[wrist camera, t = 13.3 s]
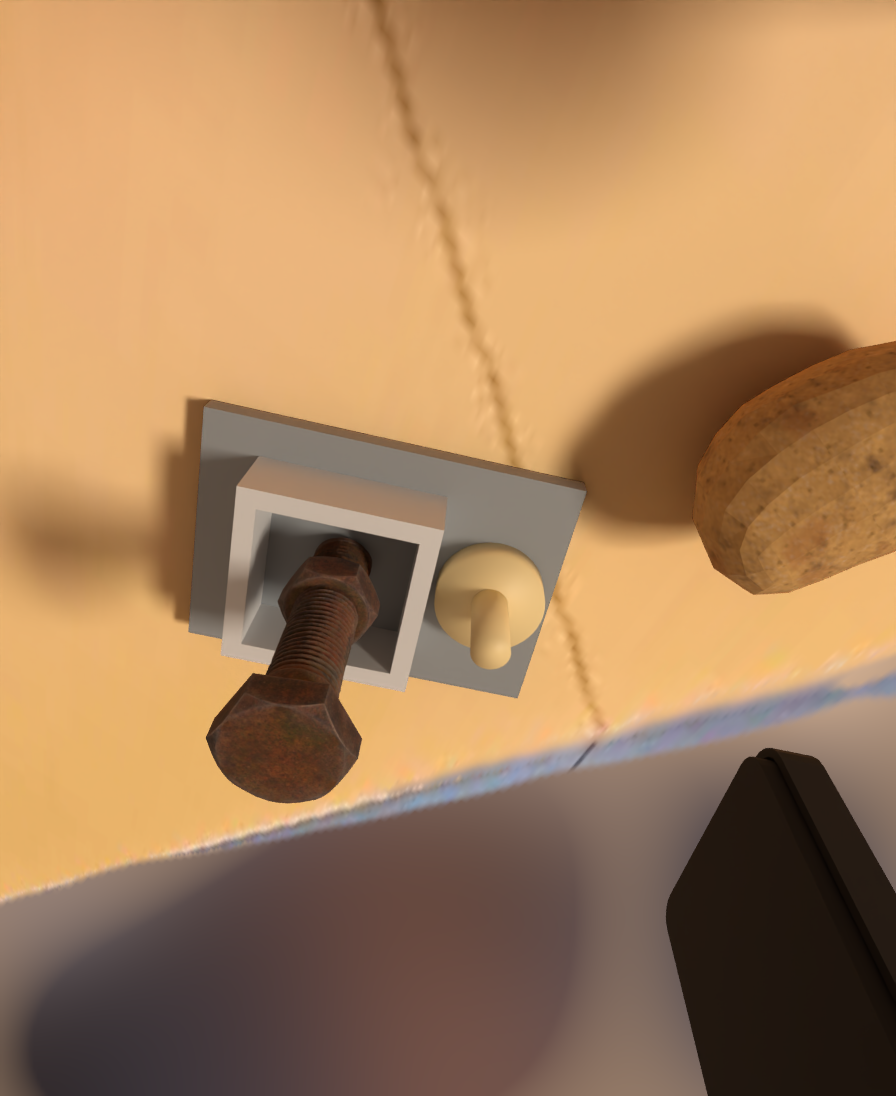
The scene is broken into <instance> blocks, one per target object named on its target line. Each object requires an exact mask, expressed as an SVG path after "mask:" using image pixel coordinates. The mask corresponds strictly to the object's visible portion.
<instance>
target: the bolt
mask: <svg viewBox="0 0 896 1096" xmlns="http://www.w3.org/2000/svg"><path fill="white" fill-rule="evenodd" d="M371 568H372V558H371V556H370V554H369V552H368V551H367V550H366V549H365V548H364V547H363V546H362V545H361V544H360V543H358V542H356V541H355V540H352V539H349V538H330V539H328V540H325V541H323V542H322V543H321V544H320V545H319V546H318V547H317V549H316V550H315V553H314V556H313V557H309V558H308V559H307V560H306V561H305V562H304V563H303V564H302V565H301V566H300V567H299V569H298V570H297V571H296V572H295V574H294V575H293V576H292V577H291V579H290V580H289V581H288V583H287V584H286V586H285V587H284V588H283V590H282V592H281V594H280V597H279V599H278V601H277V602H278V605H279V607H280V610H281V613H282V615H283V617H284V619H285V621H286V626H285V628H284V630H283V633H282V635H281V638H280V640H279V643H278V646H277V648H276V651H275V653H274V656H273V657H272V661H271V664H270V666H269V668H268V671H267V673H266V675H262V674H255V673H253V674H252V675H251V676H250V677H249V678H248V680H247V681H246V682H245V683H244V684H243V685H242V687H241V688H240V689H239V690H238V691H237V692H236V694H235V695H234V696H233V697H232V698H231V699H230V701H229V702H228V703H227V704H226V705H225V707H224V708H223V709H222V710H221V711H220V712H219V714H218V715H217V716H216V717H215V718H214V721H213V723H212V725H211V727H210V730H209V732H208V734H207V736H206V740H207V743H208V745H209V748H210V751H211V753H212V756H213V758H214V760H215V762H216V764H217V766H218V767H219V769H220V770H221V771H222V773H223V774H224V775H225V776H226V778H227V779H228V780H229V781H231V782H232V783H233V784H234V785H236V786H238V787H239V788H241V789H243V790H245V791H247V792H249V793H251V794H252V795H254V796H256V797H259V798H262V799H265V800H268V801H272V802H278V803H299V802H305V801H311V800H316V799H318V798H321V797H323V796H325V795H326V794H327V793H329V792H330V791H331V790H332V789H333V788H334V787H335V786H336V785H337V784H338V783H339V782H340V781H341V780H342V779H343V778H344V776H345V775H346V774H347V773H348V772H349V770H350V769H351V767H352V766H353V765H354V763H355V762H356V761H357V759H358V755H359V750H360V745H361V741H362V738H361V736H360V734H359V733H358V731H357V729H356V728H355V726H354V724H353V723H352V721H351V719H350V717H349V716H348V714H347V712H346V711H345V709H344V707H343V706H342V704H341V702H340V701H339V699H338V698H339V693H340V691H341V685H342V681H343V676H344V672H345V667H346V665H347V662H348V658H349V654H350V650H351V646H352V645H353V644H354V643H355V642H356V641H357V640H359V639H360V638H361V637H362V636H363V634H364V633H365V632H366V631H367V630H368V628H369V627H370V626H371V625H372V623H373V622H374V620H375V619H376V618H377V616H378V612H379V607H380V602H379V599H378V596H377V593H376V591H375V589H374V586H373V584H372V582H371V580H370V578H369V575H370V573H371Z"/></svg>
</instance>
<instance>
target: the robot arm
mask: <svg viewBox="0 0 896 1096" xmlns="http://www.w3.org/2000/svg"><path fill="white" fill-rule="evenodd" d="M666 924H667V930H668V934H669V938H670V942H671V946H672V950H673V954H674V959H675V962H676V967H677V971H678V975H679V979H680V983H681V987H682V992H683V996H684V1000H685V1004H686V1008H687V1012H688V1016H689V1020H690V1024H691V1028H692V1032H693V1037H694V1041H695V1045H696V1049H697V1053H698V1057H699V1061H700V1065H701V1069H702V1074H703V1078H704V1082H705V1086H706V1090H707V1094H708V1096H896V893H895V891H894V889H893V887H892V886H891V884H890V882H889V880H888V879H887V877H886V875H885V873H884V872H883V870H882V868H881V866H880V865H879V863H878V861H877V859H876V858H875V856H874V854H873V852H872V851H871V849H870V847H869V845H868V844H867V842H866V840H865V838H864V836H863V835H862V833H861V832H860V829H859V828H858V826H857V824H856V822H855V821H854V819H853V817H852V815H851V814H850V812H849V810H848V808H847V807H846V805H845V803H844V801H843V800H842V798H841V796H840V794H839V792H838V791H837V789H836V787H835V786H834V784H833V782H832V780H831V779H830V777H829V775H828V773H827V771H826V770H825V768H824V766H823V765H822V764H821V762H820V761H819V760H818V759H816V758H814V757H812V756H808V755H803V754H798V753H793V752H788V751H783V750H778V749H773V748H765V749H763V750H762V751H760V752H759V753H758V755H757V756H756V757H748V758H746V759H745V760H744V761H743V763H742V764H741V766H740V768H739V769H738V771H737V774H736V775H735V777H734V779H733V780H732V782H731V784H730V786H729V788H728V790H727V792H726V793H725V795H724V797H723V799H722V801H721V803H720V804H719V806H718V808H717V810H716V812H715V814H714V816H713V817H712V819H711V821H710V823H709V825H708V826H707V828H706V830H705V832H704V834H703V836H702V837H701V839H700V841H699V843H698V845H697V847H696V849H695V850H694V852H693V854H692V856H691V858H690V859H689V861H688V863H687V865H686V867H685V869H684V871H683V873H682V874H681V876H680V878H679V880H678V882H677V884H676V885H675V887H674V889H673V891H672V893H671V894H670V897H669V899H668V903H667V909H666Z"/></svg>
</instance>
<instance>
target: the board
mask: <svg viewBox="0 0 896 1096" xmlns="http://www.w3.org/2000/svg"><path fill="white" fill-rule="evenodd" d="M586 493H587V490H586V487H585V484H584V483H583V482H579V481H574V480H570V479H565V478H561V477H556V476H552V475H548V474H543V473H539V472H534V471H530V470H525V469H521V468H516V467H512V466H507V465H503V464H498V463H494V462H489V461H485V460H480V459H476V458H471V457H467V456H462V455H458V454H453V453H449V452H444V451H440V450H435V449H431V448H426V447H422V446H417V445H413V444H408V443H404V442H399V441H395V440H390V439H386V438H381V437H377V436H372V435H368V434H363V433H359V432H354V431H350V430H345V429H341V428H336V427H332V426H327V425H323V424H318V423H314V422H309V421H305V420H300V419H296V418H291V417H287V416H282V415H278V414H273V413H269V412H264V411H260V410H255V409H251V408H246V407H242V406H237V405H233V404H228V403H224V402H219V401H215V400H211V401H210V402H208V403H207V404H206V405H205V406H204V411H203V426H202V441H201V456H200V470H199V485H198V500H197V514H196V529H195V544H194V559H193V573H192V588H191V603H190V617H189V632H190V633H195V634H200V635H205V636H210V637H215V638H220V639H222V647H221V655H222V656H227V657H232V658H237V659H242V660H247V661H252V662H257V663H262V664H267V665H270V664H271V661H272V657H273V656H274V653H275V651H276V648H277V646H278V643H279V640H280V638H281V635H282V633H283V630H284V628H285V626H286V621H285V619H284V617H283V615H282V613H281V610H280V607H279V605H278V602H277V601H278V599H279V597H280V594H281V592H282V590H283V588H284V587H285V586H286V584H287V583H288V581H289V580H290V579H291V577H292V576H293V575H294V574H295V572H296V571H297V570H298V569H299V567H300V566H301V565H302V564H303V563H304V562H305V561H306V560H307V559H308V558H309V557H313V556H314V553H315V550H316V549H317V547H318V546H319V545H320V544H321V543H322V542H323V541H325V540H328V539H330V538H349V539H352V540H355V541H356V542H358V543H360V544H361V545H362V546H363V547H364V548H365V549H366V550H367V551H368V552H369V554H370V556H371V558H372V568H371V573H370V575H369V578H370V580H371V582H372V584H373V586H374V589H375V591H376V593H377V596H378V599H379V602H380V607H379V612H378V616H377V618H376V619H375V620H374V622H373V623H372V625H371V626H370V627H369V628H368V630H367V631H366V632H365V633H364V634H363V636H362V637H361V638H360V639H359V640H357V641H356V642H355V643H354V644H353V645H352V646H351V650H350V654H349V658H348V662H347V665H346V667H345V672H344V676H343V680H347V681H352V682H357V683H362V684H367V685H372V686H377V687H382V688H387V689H392V690H397V691H402V692H405V689H406V685H407V681H408V677H414V678H419V679H424V680H429V681H434V682H439V683H444V684H449V685H454V686H459V687H464V688H469V689H473V690H478V691H483V692H488V693H493V694H498V695H503V696H508V697H513V698H518V695H519V692H520V689H521V686H522V684H523V681H524V678H525V675H526V672H527V669H528V666H529V663H530V660H531V657H532V654H533V651H534V648H535V645H536V642H537V639H538V636H539V633H540V630H541V627H542V624H543V621H544V618H545V615H546V612H547V609H548V606H549V603H550V600H551V597H552V594H553V591H554V588H555V585H556V582H557V579H558V576H559V573H560V570H561V567H562V564H563V561H564V558H565V555H566V552H567V549H568V546H569V544H570V541H571V538H572V535H573V532H574V529H575V526H576V523H577V520H578V517H579V514H580V511H581V508H582V505H583V502H584V499H585V496H586Z"/></svg>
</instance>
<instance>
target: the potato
mask: <svg viewBox="0 0 896 1096" xmlns="http://www.w3.org/2000/svg"><path fill="white" fill-rule="evenodd" d="M692 518H693V521H694V523H695V525H696V528H697V530H698V533H699V535H700V537H701V540H702V542H703V544H704V547H705V549H706V552H707V554H708V556H709V558H710V561H711V563H712V565H713V567H714V569H716V570H717V571H719V572H720V573H722V574H723V575H725V576H726V577H728V578H729V579H730V580H732V581H733V582H735V583H736V584H738V585H739V586H741V587H742V588H743V589H745V590H747V591H748V592H750V593H752V594H753V595H758V594H775V593H789V592H791V591H794V590H797V589H800V588H802V587H805V586H808V585H811V584H813V583H816V582H819V581H821V580H824V579H826V578H829V577H831V576H833V575H836V574H838V573H840V572H843V571H845V570H847V569H850V568H852V567H854V566H857V565H859V564H862V563H865V562H867V561H870V560H873V559H876V558H878V557H881V556H884V555H887V554H889V553H892V552H895V551H896V341H894V342H889V343H883V344H878V345H873V346H868V347H863V348H858V349H852V350H849V351H846V352H844V353H841V354H839V355H837V356H834V357H832V358H829V359H827V360H824V361H822V362H820V363H817V364H815V365H812V366H810V367H808V368H807V369H805V370H803V371H801V372H799V373H797V374H795V375H793V376H791V377H789V378H787V379H785V380H784V381H782V382H780V383H778V384H776V385H774V386H773V387H771V388H769V389H768V390H766V391H764V392H763V393H761V394H760V395H758V396H756V397H755V398H753V399H751V400H750V401H748V402H746V403H745V404H743V405H742V406H741V407H740V408H739V409H738V410H737V411H736V412H735V413H734V414H733V416H732V417H731V418H730V419H729V420H728V421H727V422H726V423H725V424H724V426H723V427H722V428H721V429H720V430H719V431H718V432H717V433H716V434H715V436H714V438H713V440H712V441H711V443H710V445H709V447H708V449H707V450H706V452H705V454H704V456H703V457H702V459H701V461H700V463H699V464H698V467H697V479H696V490H695V498H694V506H693V514H692Z"/></svg>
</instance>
